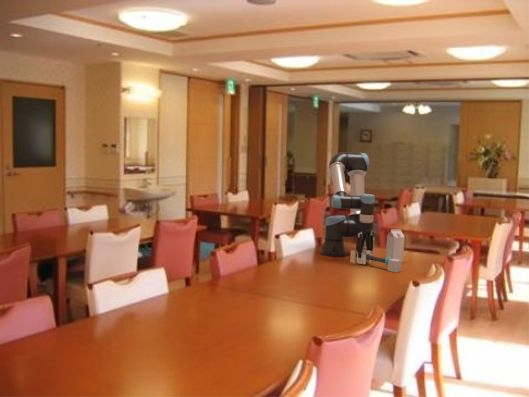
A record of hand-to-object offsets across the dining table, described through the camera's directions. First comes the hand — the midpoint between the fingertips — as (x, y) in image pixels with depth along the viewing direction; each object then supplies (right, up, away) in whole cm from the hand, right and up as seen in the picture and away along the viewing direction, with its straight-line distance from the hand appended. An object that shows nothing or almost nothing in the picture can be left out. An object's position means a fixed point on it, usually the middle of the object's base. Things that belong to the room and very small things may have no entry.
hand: (363, 262), depth 317 cm
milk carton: (+20, -1, +12) cm, 23 cm away
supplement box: (+4, 0, +16) cm, 16 cm away
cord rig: (+5, -2, -5) cm, 7 cm away
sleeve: (0, 0, 0) cm, 0 cm away
